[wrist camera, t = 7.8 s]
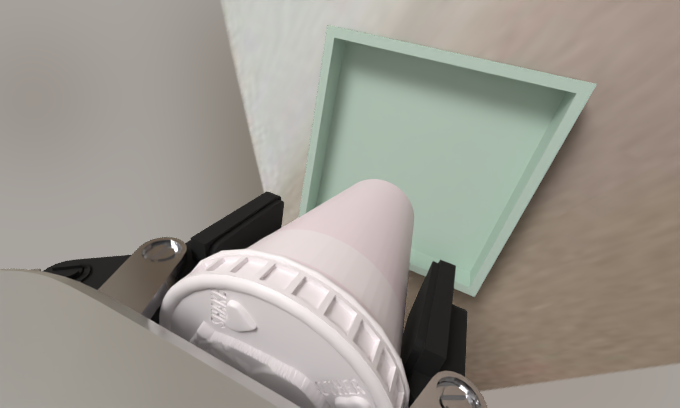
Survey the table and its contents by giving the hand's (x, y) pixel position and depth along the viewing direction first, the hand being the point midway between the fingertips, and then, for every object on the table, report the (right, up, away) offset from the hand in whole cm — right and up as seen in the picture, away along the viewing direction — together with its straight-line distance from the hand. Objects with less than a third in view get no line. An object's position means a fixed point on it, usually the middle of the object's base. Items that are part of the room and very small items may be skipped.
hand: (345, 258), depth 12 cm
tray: (+5, +5, +11) cm, 13 cm away
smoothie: (+2, +2, +4) cm, 4 cm away
